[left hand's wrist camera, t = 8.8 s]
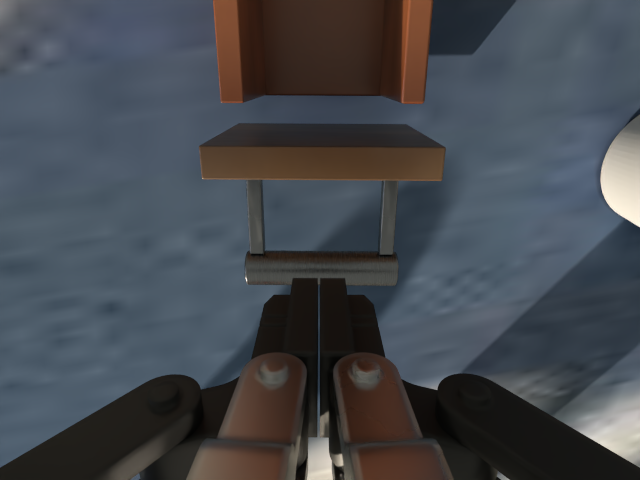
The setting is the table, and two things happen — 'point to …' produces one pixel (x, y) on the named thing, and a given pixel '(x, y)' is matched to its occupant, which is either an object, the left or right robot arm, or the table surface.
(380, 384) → the left robot arm
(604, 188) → the coffee cup
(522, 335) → the table surface
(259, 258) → the drawer
